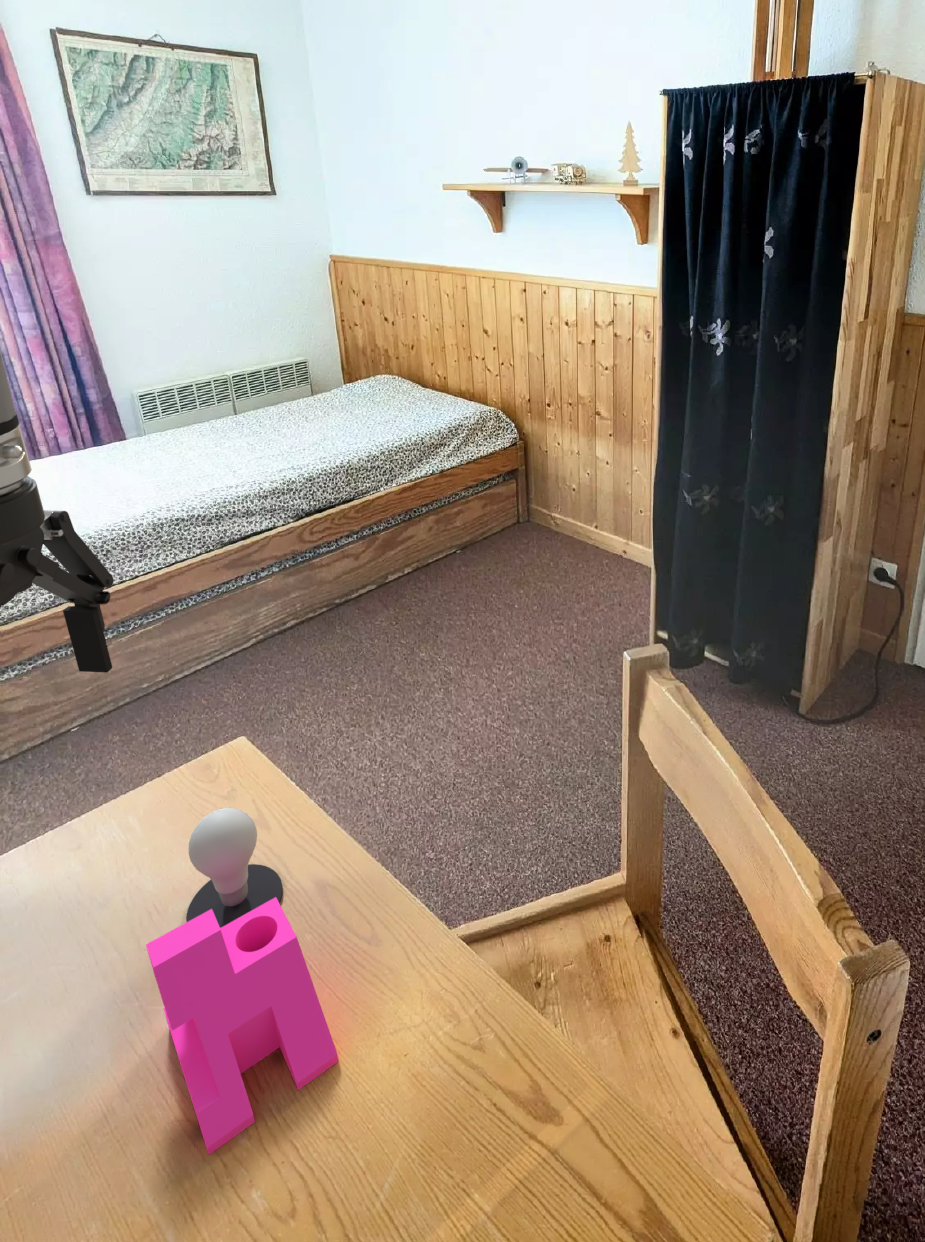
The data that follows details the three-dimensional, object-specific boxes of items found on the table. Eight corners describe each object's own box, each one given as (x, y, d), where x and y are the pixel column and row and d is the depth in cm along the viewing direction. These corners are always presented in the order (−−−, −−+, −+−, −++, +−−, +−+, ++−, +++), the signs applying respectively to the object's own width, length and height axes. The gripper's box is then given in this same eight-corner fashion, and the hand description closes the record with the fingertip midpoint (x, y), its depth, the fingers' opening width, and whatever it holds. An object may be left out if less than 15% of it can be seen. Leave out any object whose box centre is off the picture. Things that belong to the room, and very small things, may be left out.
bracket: (169, 1028, 67) (145, 944, 64) (287, 956, 73) (271, 875, 70) (208, 1155, 59) (184, 1065, 55) (338, 1060, 65) (324, 975, 61)
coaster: (168, 942, 75) (167, 939, 74) (215, 864, 83) (215, 861, 83) (258, 948, 74) (257, 945, 74) (297, 869, 82) (296, 866, 82)
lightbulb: (281, 888, 80) (266, 805, 76) (233, 938, 75) (214, 852, 71) (238, 867, 82) (221, 786, 78) (189, 914, 77) (168, 829, 73)
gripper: (-135, 568, 46) (-36, 840, 53) (125, 434, 69) (169, 636, 77) (-253, 564, 46) (-138, 834, 54) (45, 432, 70) (97, 633, 77)
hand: (43, 718), depth 65 cm, fingers open, 13 cm apart
